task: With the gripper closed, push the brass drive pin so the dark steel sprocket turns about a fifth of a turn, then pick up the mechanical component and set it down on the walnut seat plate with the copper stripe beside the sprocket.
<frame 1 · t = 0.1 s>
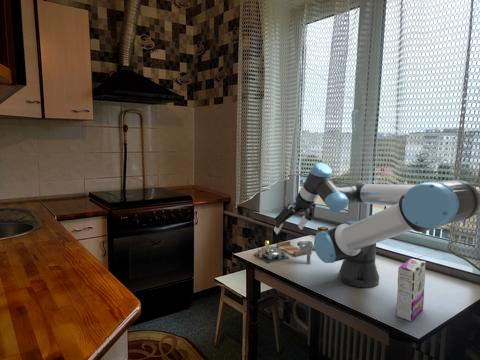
hand: (288, 229, 147), 15 cm above the table, tool tilted 35°, fingers open, 13 cm apart
seat: (291, 250, 164), on the table
candy bar box: (409, 313, 106), on the table
sprocket base: (271, 256, 156), on the table
sprocket: (271, 246, 155), point 5 cm above the table, hinge at 0.0°
mechanical component: (308, 263, 148), on the table
condiment: (324, 251, 164), on the table
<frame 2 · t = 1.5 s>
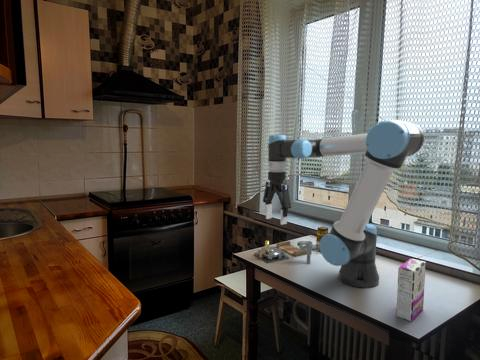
hand: (275, 221, 144), 20 cm above the table, tool pointing down, fingers open, 10 cm apart
nothing on the table moved.
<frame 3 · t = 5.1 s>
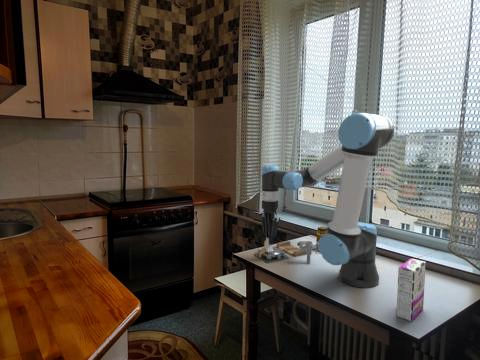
hand: (269, 251, 149), 5 cm above the table, tool pointing down, fingers closed
sprocket: (271, 246, 155), point 5 cm above the table, hinge at -4.2°, touching gripper
everything else where it was.
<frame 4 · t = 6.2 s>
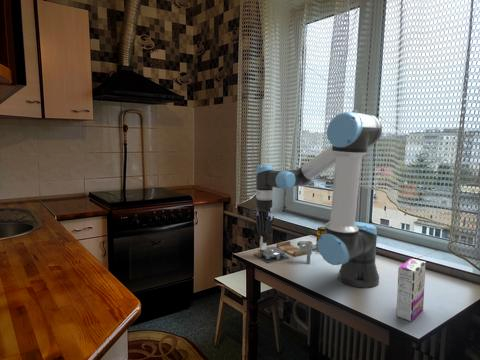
hand: (263, 249, 152), 5 cm above the table, tool pointing down, fingers closed
sprocket: (271, 246, 155), point 5 cm above the table, hinge at -54.0°, touching gripper
everything else where it was.
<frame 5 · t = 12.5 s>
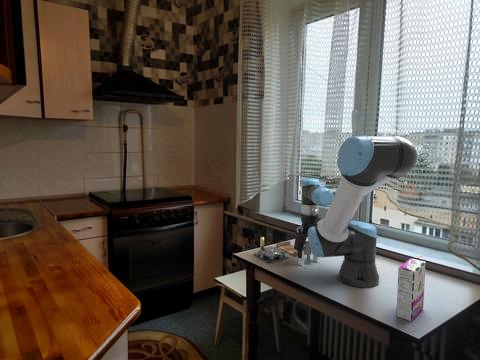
hand: (308, 262, 148), 0 cm above the table, tool pointing down, fingers closed on mechanical component, 8 cm apart
sprocket: (271, 246, 155), point 5 cm above the table, hinge at -83.2°
mechanical component: (308, 263, 148), on the table, touching gripper
everything else where it was.
when the fingers open (3 cm above the table, at t = 17.9 s): mechanical component drops 1 cm, resting on seat.
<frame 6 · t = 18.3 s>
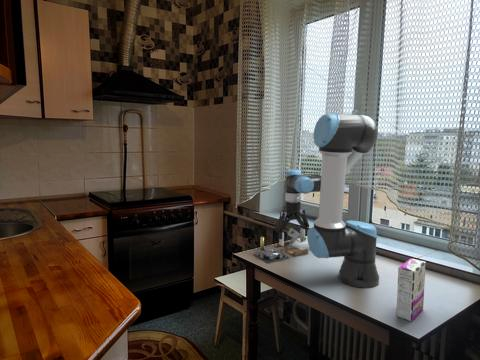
hand: (292, 243, 164), 4 cm above the table, tool pointing down, fingers open, 12 cm apart
mechanical component: (287, 249, 163), point 1 cm above the table, touching seat
everything else where it was.
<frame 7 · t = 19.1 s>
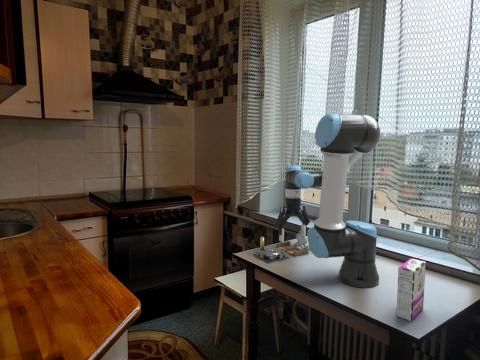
hand: (292, 239, 163), 6 cm above the table, tool pointing down, fingers open, 13 cm apart
mechanical component: (287, 249, 163), point 1 cm above the table, touching gripper, seat
everything else where it was.
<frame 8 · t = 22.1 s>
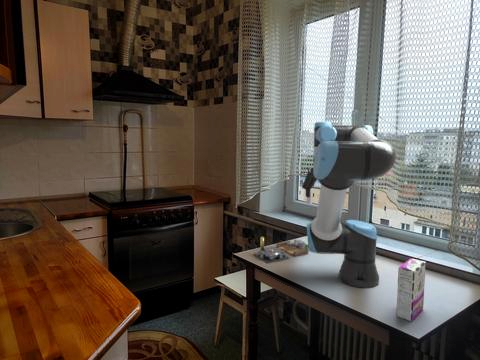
hand: (320, 202, 150), 27 cm above the table, tool pointing down, fingers open, 13 cm apart
mechanical component: (286, 243, 167), point 3 cm above the table, touching seat
everything else where it was.
at the end: sprocket at -83° (first picture: +0°); mechanical component inside the target area on the seat (3.6 cm from its centre), point 2.8 cm above the seat's base; the gripper is holding nothing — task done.
